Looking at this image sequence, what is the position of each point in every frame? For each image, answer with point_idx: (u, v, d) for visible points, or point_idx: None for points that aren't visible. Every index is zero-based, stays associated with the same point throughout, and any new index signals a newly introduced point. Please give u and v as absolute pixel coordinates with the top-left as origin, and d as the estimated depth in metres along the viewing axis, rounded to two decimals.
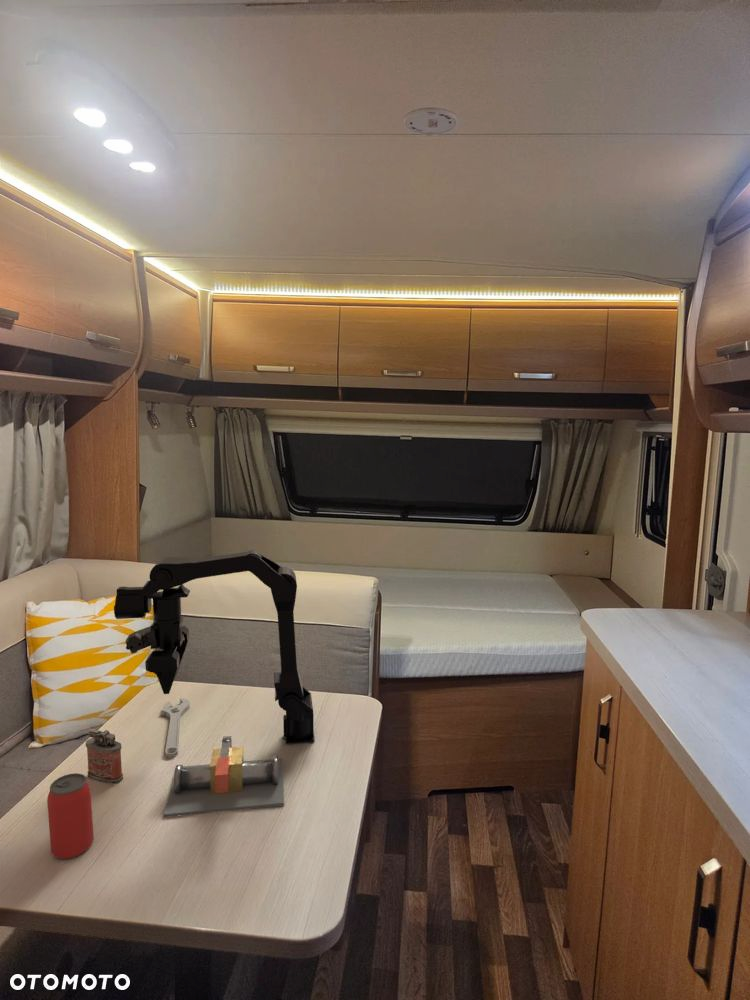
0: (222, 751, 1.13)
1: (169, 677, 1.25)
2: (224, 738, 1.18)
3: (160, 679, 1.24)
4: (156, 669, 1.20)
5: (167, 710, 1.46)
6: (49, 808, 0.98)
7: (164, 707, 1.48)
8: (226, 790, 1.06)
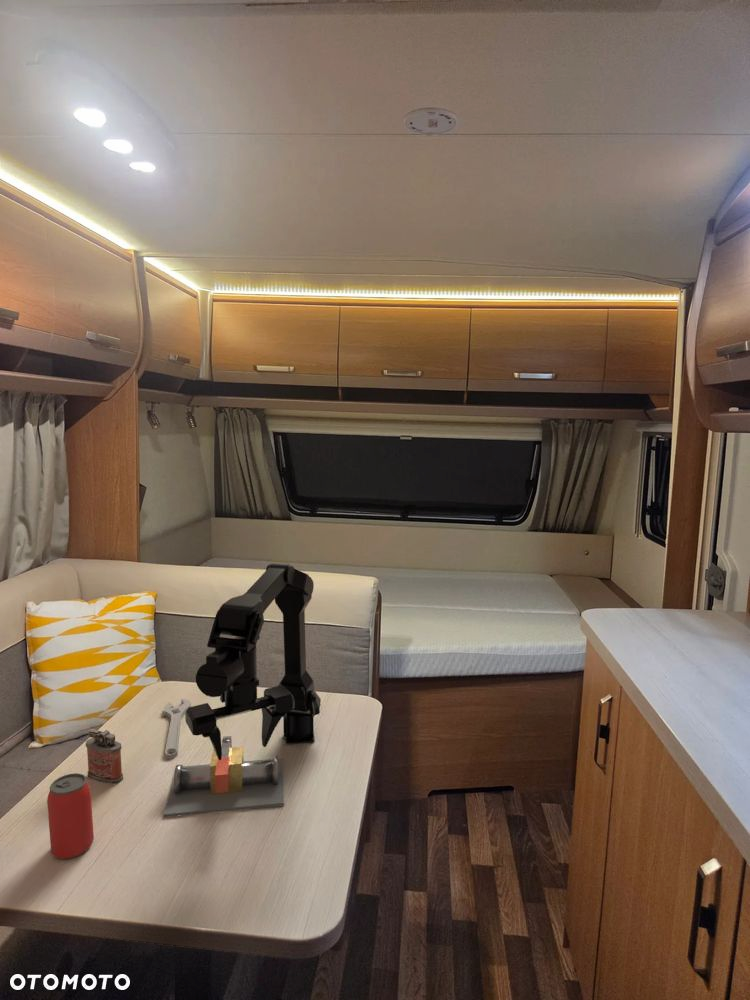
0: (222, 751, 1.13)
1: None
2: (224, 738, 1.18)
3: (210, 738, 1.06)
4: (187, 724, 1.03)
5: (168, 711, 1.46)
6: (49, 808, 0.98)
7: (165, 708, 1.47)
8: (226, 790, 1.06)
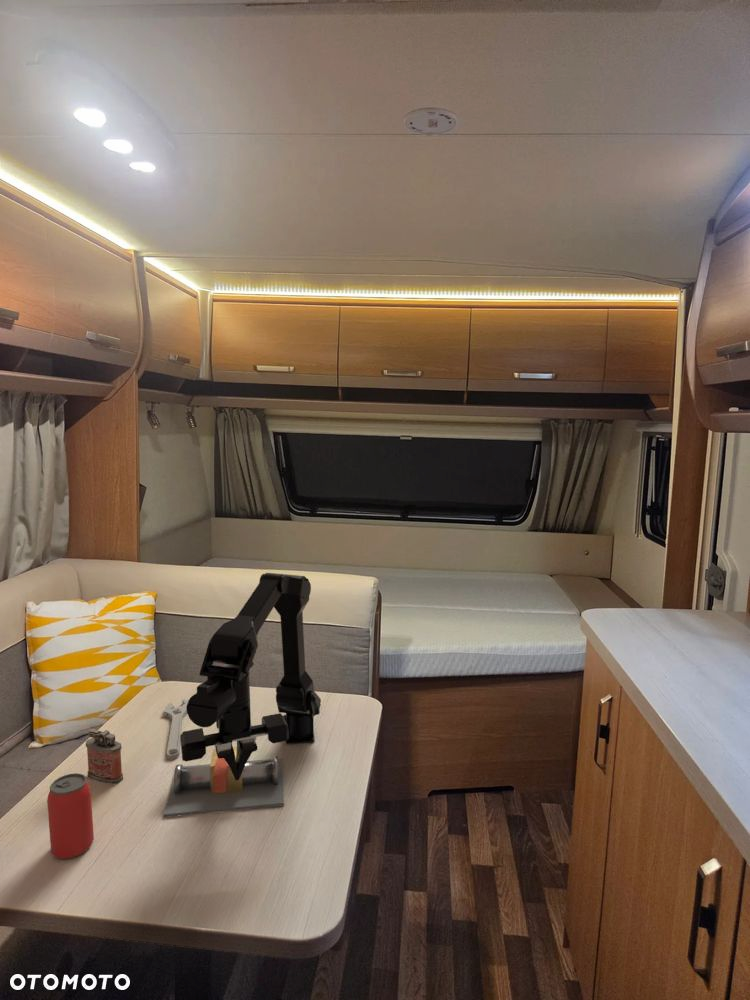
0: None
1: None
2: None
3: None
4: None
5: (169, 711, 1.46)
6: (49, 808, 0.98)
7: (166, 708, 1.47)
8: (224, 790, 1.06)
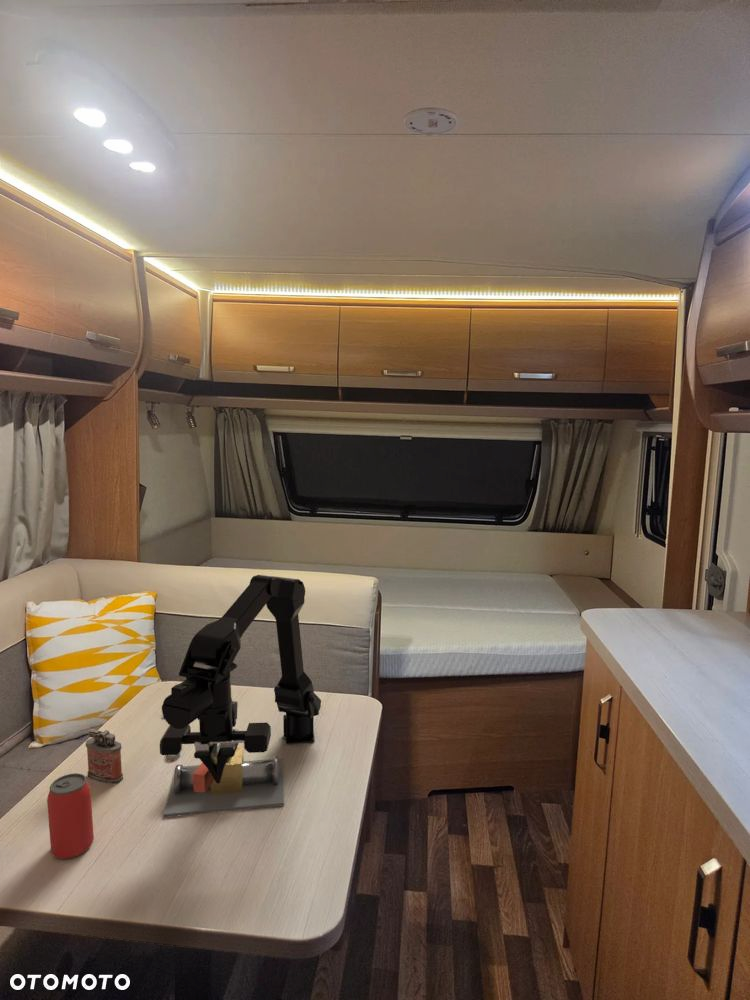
0: None
1: None
2: None
3: None
4: None
5: None
6: (49, 808, 0.98)
7: None
8: (203, 791, 1.06)
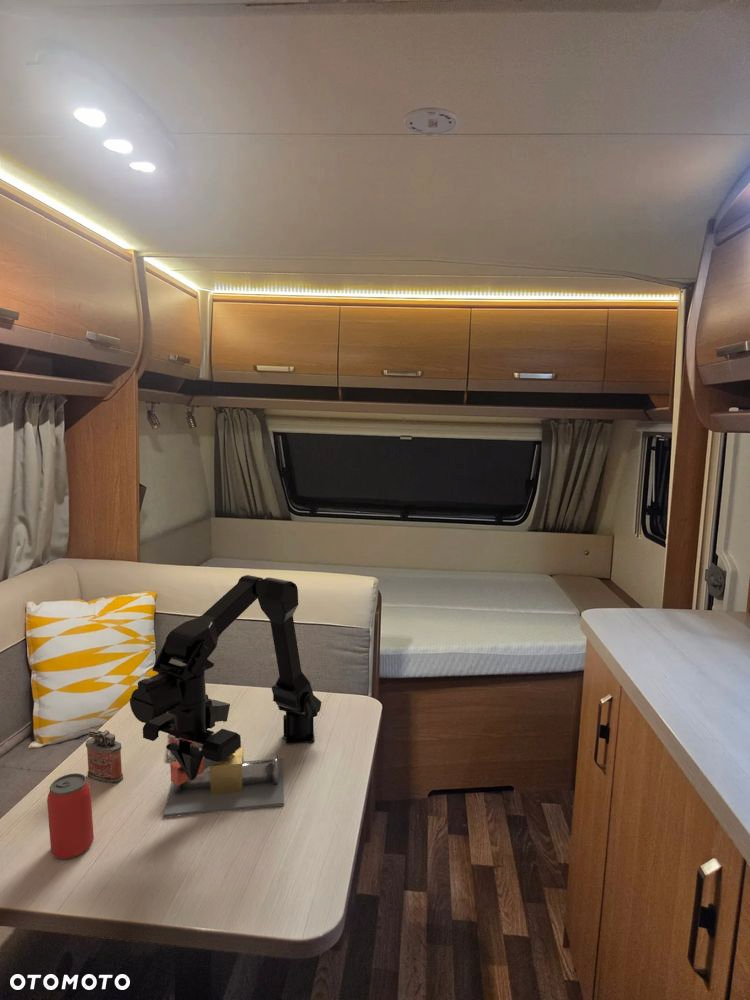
0: None
1: None
2: None
3: None
4: None
5: None
6: (49, 808, 0.98)
7: None
8: (176, 783, 1.08)
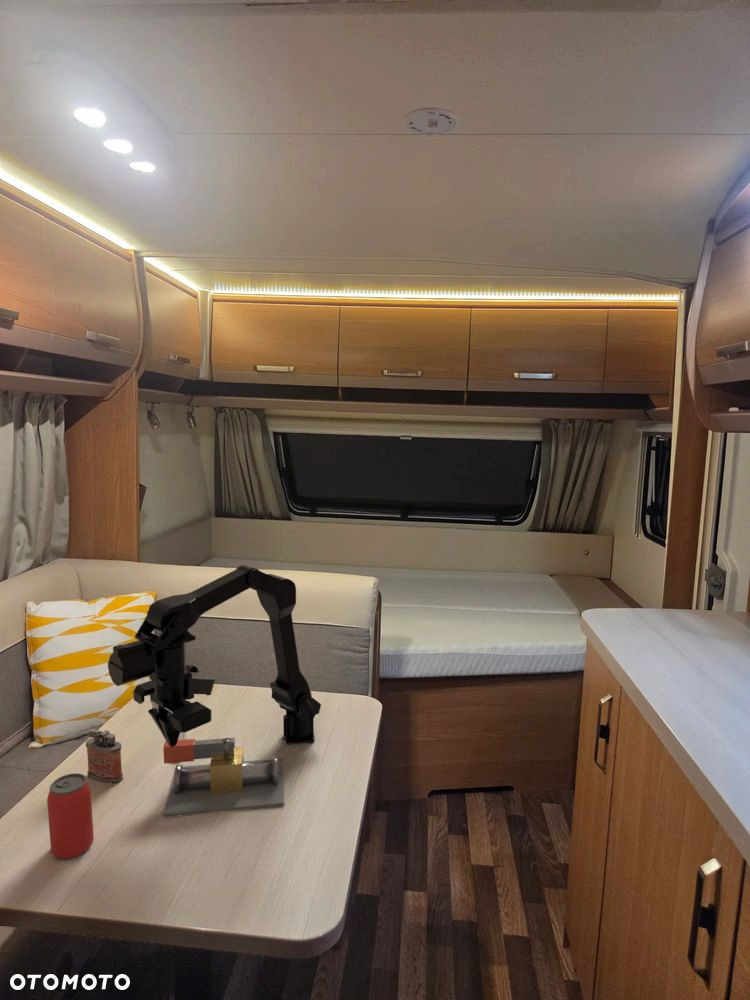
0: (206, 740, 1.17)
1: None
2: (230, 738, 1.18)
3: None
4: None
5: None
6: (49, 808, 0.98)
7: None
8: (164, 761, 1.15)
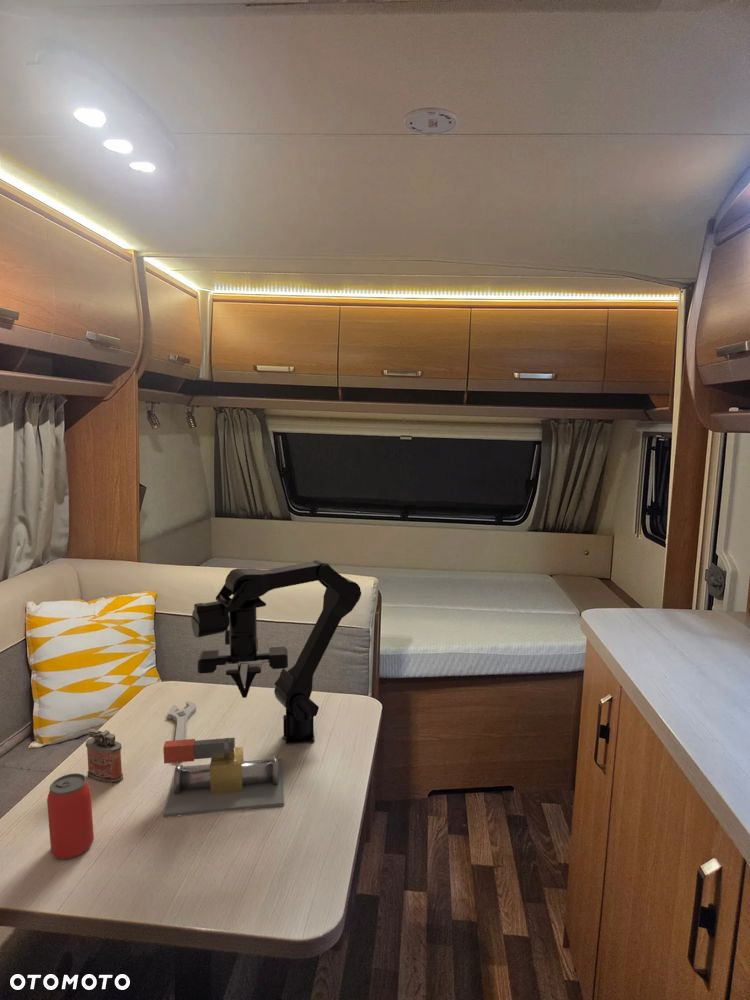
0: (206, 740, 1.17)
1: None
2: (230, 738, 1.18)
3: None
4: None
5: (174, 713, 1.45)
6: (49, 808, 0.98)
7: (170, 710, 1.46)
8: (164, 761, 1.15)
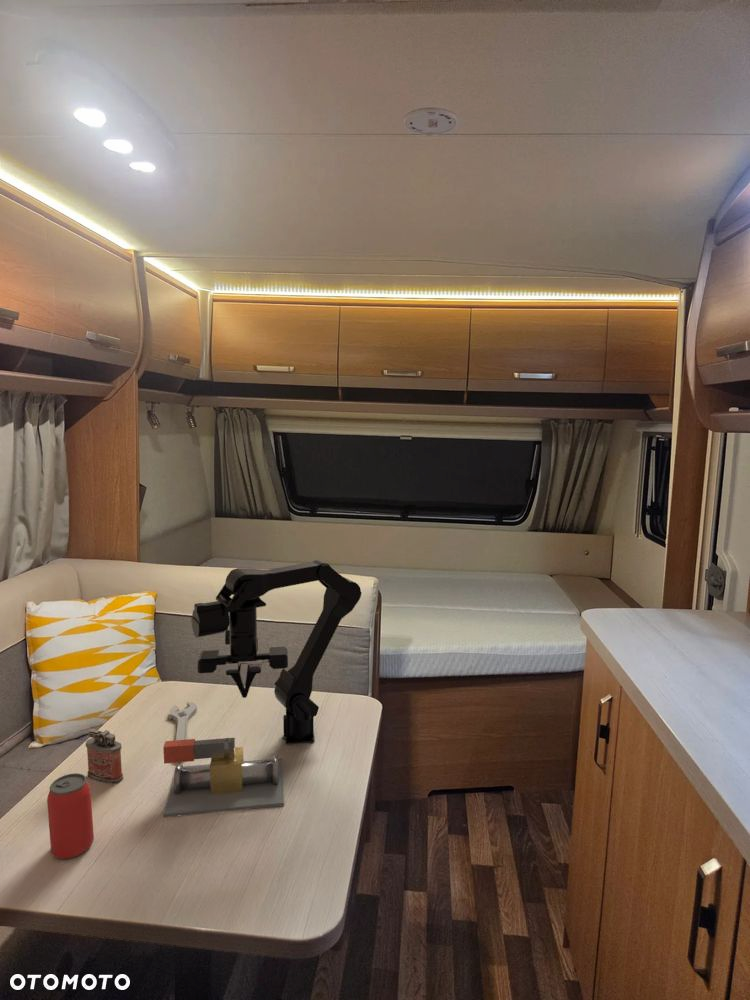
0: (206, 740, 1.17)
1: None
2: (230, 738, 1.18)
3: None
4: None
5: (174, 714, 1.44)
6: (49, 808, 0.98)
7: (171, 711, 1.46)
8: (164, 761, 1.15)
